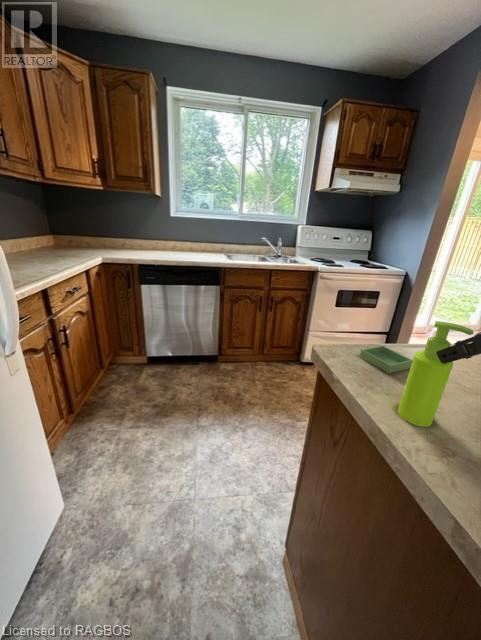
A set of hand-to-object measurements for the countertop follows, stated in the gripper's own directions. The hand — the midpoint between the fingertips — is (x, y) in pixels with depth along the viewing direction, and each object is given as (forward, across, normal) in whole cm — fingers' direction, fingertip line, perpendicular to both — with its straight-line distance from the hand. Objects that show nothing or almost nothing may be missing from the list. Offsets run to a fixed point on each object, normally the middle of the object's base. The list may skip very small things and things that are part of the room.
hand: (455, 353), depth 46 cm
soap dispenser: (+13, 0, +9) cm, 16 cm away
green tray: (+26, -13, -4) cm, 29 cm away
